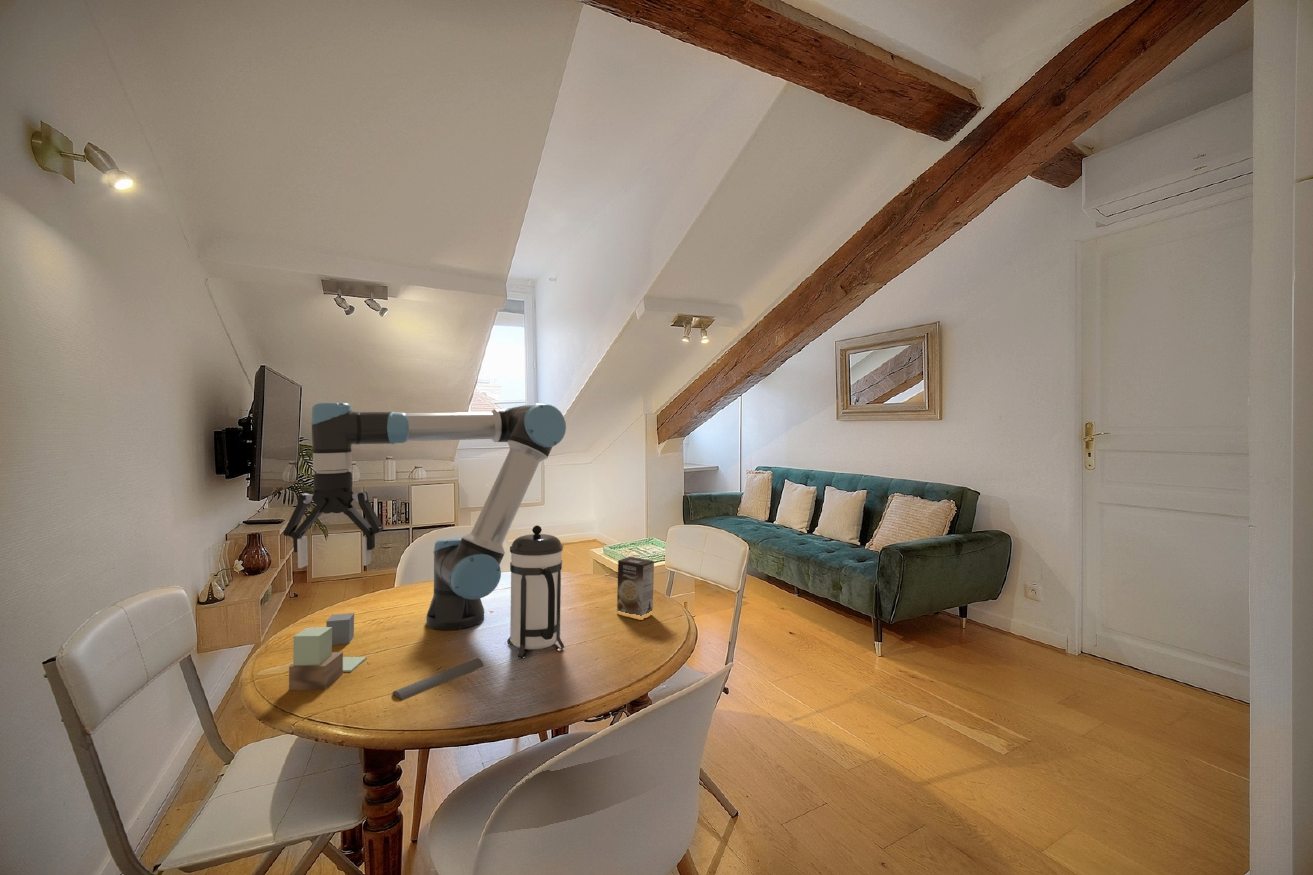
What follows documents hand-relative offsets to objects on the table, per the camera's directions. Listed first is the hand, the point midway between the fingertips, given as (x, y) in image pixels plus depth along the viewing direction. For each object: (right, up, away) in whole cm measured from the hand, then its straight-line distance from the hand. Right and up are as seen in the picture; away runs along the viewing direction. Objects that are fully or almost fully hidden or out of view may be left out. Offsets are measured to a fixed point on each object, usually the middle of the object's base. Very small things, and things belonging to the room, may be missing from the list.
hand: (335, 565), depth 121 cm
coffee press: (+44, -23, +10) cm, 50 cm away
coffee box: (+66, -23, +35) cm, 79 cm away
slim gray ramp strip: (+27, -23, -7) cm, 36 cm away
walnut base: (+2, -22, -9) cm, 24 cm away
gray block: (-7, -22, +13) cm, 26 cm away
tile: (+2, -22, -1) cm, 22 cm away
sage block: (+1, -17, -10) cm, 20 cm away
